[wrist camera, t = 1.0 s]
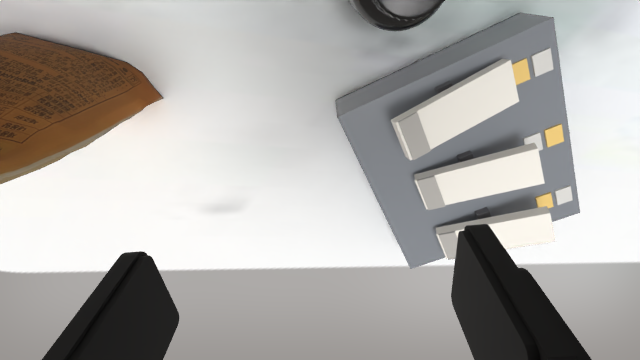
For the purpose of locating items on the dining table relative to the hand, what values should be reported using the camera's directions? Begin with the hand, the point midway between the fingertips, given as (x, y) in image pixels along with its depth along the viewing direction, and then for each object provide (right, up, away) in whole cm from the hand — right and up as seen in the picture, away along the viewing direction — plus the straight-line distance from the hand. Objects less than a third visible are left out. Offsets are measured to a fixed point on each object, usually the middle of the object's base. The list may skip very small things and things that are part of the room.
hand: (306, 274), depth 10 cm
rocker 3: (+17, -2, +23) cm, 29 cm away
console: (+14, +6, +26) cm, 30 cm away
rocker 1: (+11, +8, +17) cm, 22 cm away
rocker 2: (+14, +3, +20) cm, 25 cm away
